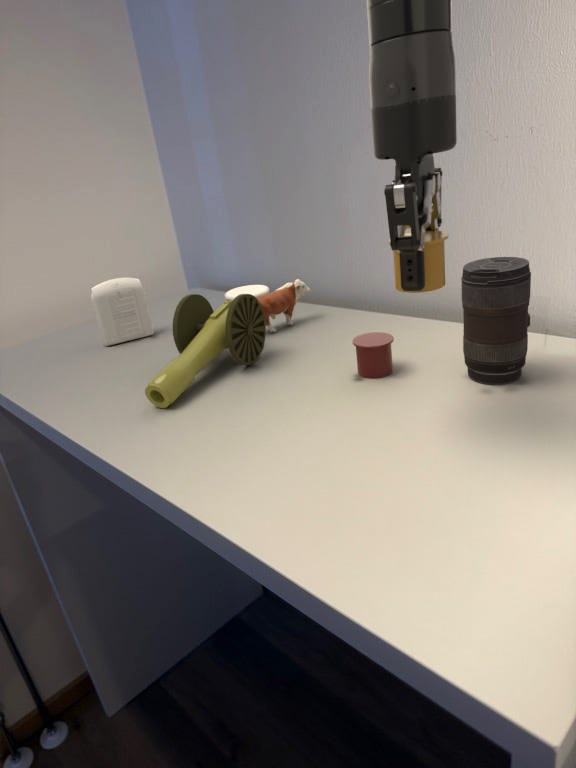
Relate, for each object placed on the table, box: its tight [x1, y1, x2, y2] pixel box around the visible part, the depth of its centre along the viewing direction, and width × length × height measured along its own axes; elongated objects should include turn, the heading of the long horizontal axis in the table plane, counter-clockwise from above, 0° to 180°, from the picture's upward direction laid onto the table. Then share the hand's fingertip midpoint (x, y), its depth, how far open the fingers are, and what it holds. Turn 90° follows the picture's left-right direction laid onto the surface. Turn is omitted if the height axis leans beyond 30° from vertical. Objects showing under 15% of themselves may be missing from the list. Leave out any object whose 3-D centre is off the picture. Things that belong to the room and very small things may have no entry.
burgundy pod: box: [351, 331, 395, 379], centre depth 78 cm, size 6×6×5 cm
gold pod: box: [388, 230, 450, 294], centre depth 55 cm, size 6×6×5 cm
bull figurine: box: [256, 278, 311, 333], centre depth 102 cm, size 4×13×8 cm, turn 124°
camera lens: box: [460, 256, 532, 385], centre depth 69 cm, size 8×8×15 cm
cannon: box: [144, 293, 267, 409], centre depth 84 cm, size 25×12×11 cm, turn 154°
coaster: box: [224, 284, 270, 301], centre depth 121 cm, size 10×10×4 cm
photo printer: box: [90, 277, 155, 347], centre depth 107 cm, size 10×4×12 cm, turn 116°
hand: (419, 280), depth 56 cm, fingers closed on gold pod, 5 cm apart
